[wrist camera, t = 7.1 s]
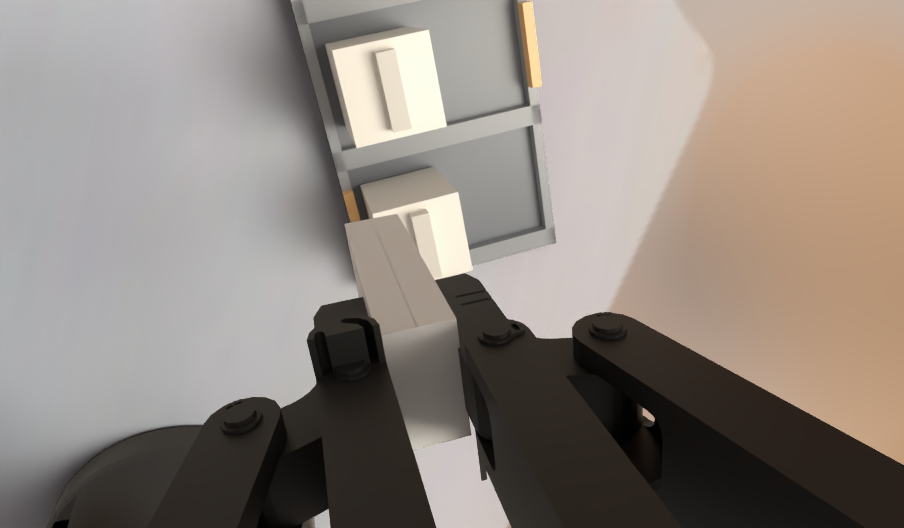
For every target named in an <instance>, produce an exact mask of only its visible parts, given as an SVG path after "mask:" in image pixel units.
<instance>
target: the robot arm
mask: <svg viewBox="0 0 904 528" xmlns="http://www.w3.org/2000/svg"><path fill="white" fill-rule="evenodd" d="M345 229H346V234H347V239H348V245H349V250H350V255H351V260H352V265H353V270H354V275H355V280H356V285H357V290H358V295H359V298H355V299H351V300H346V301H341V302H337V303H332V304H328V305H323V306H321V307H320V309H319V310H318V312H317V313H316V315H315V316H314V327H315V328H314V329H313V330H312V331H311V332H310V333H309V335H308V338H307V344H308V348H309V352H310V356H311V360H312V364H313V368H314V372H315V376H316V382H317V383H316V385H315V387H314V388H313V389H312V390H311V391H310V392H309V393H308V394H306V395H305V396H304V397H302V398H301V399H299V400H297V401H296V402H294V403H292V404H290V405H287V406H285V407H283V408H281V409H280V407H279V405H278V404H277V403H276V402H275V401H274V400H271V399H268V398H266V397H251V398H246V399H240V400H237V401H234V402H233V403H229V404H227V405H225V406H223V407H222V408H221V409H219V410H218V411H216V412H215V413H213V414H212V415H211V416H210V417H209V418H208V420H207V421H206V422H205V423H204V424H203V426H202V427H200V426H189V427H174V428H167V429H161V430H156V431H152V432H148V433H144V434H141V435H138V436H135V437H132V438H129V439H127V440H124V441H122V442H120V443H118V444H116V445H114V446H112V447H110V448H108V449H107V450H105V451H103V452H102V453H100V454H99V455H97V456H96V457H94V458H93V459H92V460H90V461H89V462H88V463H87V464H86V465H84V466H83V467H82V468H81V469H80V470H79V471H78V472H77V473H76V474H75V475H74V477H73V478H72V479H71V480H70V481H69V483H68V484H67V486H66V487H65V489H64V490H63V492H62V494H61V496H60V498H59V500H58V502H57V505H56V507H55V509H54V511H53V513H52V516H51V518H50V520H49V522H48V524H47V527H46V528H315V523H314V516H316V515H318V514H320V513H322V512H324V511H325V510H327V509H329V516H330V526H331V528H436V525H435V522H434V519H433V515H432V512H431V509H430V505H429V502H428V499H427V495H426V492H425V489H424V485H423V482H422V479H421V475H420V472H419V469H418V465H417V462H416V459H415V456H414V452H413V450H416V449H420V448H424V447H427V446H431V445H435V444H439V443H443V442H446V441H450V440H454V439H458V438H461V437H465V436H469V435H471V429H470V421H469V417H470V419H471V421H472V423H473V425H474V428H475V432H476V440H477V448H478V456H479V464H480V472H481V479H482V481H483V480H486V479H487V473H488V475H489V477H490V479H491V482H492V484H493V486H494V488H495V491H496V493H497V495H498V498H499V500H500V502H501V504H502V507H503V509H504V511H505V514H506V516H507V518H508V520H509V523H510V525H511V527H512V528H904V465H902V464H901V463H899V462H897V461H895V460H893V459H891V458H890V457H887V456H886V455H884V454H882V453H880V452H878V451H877V450H875V449H873V448H871V447H869V446H867V445H866V444H864V443H862V442H860V441H858V440H856V439H854V438H853V437H851V436H849V435H847V434H845V433H843V432H842V431H840V430H838V429H836V428H834V427H832V426H831V425H829V424H827V423H825V422H823V421H821V420H820V419H818V418H816V417H814V416H812V415H810V414H809V413H807V412H805V411H803V410H801V409H799V408H797V407H796V406H794V405H792V404H790V403H788V402H786V401H784V400H782V399H781V398H779V397H777V396H775V395H774V394H772V393H770V392H768V391H766V390H764V389H762V388H761V387H759V386H757V385H755V384H753V383H751V382H750V381H748V380H746V379H744V378H742V377H740V376H739V375H737V374H735V373H733V372H731V371H729V370H727V369H725V368H723V367H722V366H720V365H718V364H716V363H714V362H713V361H711V360H709V359H707V358H705V357H703V356H701V355H700V354H698V353H696V352H694V351H692V350H691V349H689V348H687V347H685V346H683V345H681V344H680V343H678V342H676V341H674V340H672V339H670V338H669V337H667V336H665V335H663V334H661V333H659V332H657V331H656V330H654V329H652V328H650V327H648V326H646V325H644V324H643V323H641V322H639V321H637V320H635V319H633V318H631V317H628V316H625V315H623V314H615V313H611V312H604V313H602V312H601V313H595V314H592V315H588V316H585V317H583V318H581V319H580V320H578V321H576V323H575V324H574V326H573V327H572V337H573V338H559V339H541V338H536V337H535V335H534V334H533V333H532V332H531V330H530V329H529V328H528V327H527V326H525V325H524V324H523V323H521V322H517V321H514V320H509V319H507V318H506V317H505V315H504V314H503V313H502V311H501V310H500V308H499V307H498V306H497V304H496V303H495V302H494V300H493V299H492V298H491V296H490V295H489V293H488V292H487V291H486V289H485V288H484V286H483V285H482V284H481V282H480V281H479V280H478V279H476V278H474V277H471V276H469V275H467V274H465V273H464V274H460V275H455V276H450V277H446V278H441V279H436V280H434V278H433V276H432V274H431V273H430V271H429V269H428V267H427V266H426V264H425V262H424V260H423V258H422V257H421V255H420V253H419V251H418V250H417V248H416V246H415V244H414V242H413V241H412V239H411V237H410V235H409V234H408V232H407V230H406V228H405V226H404V225H403V223H402V221H401V219H400V218H399V216H398V214H393V215H388V216H382V217H377V218H372V219H367V220H362V221H356V222H351V223H346V224H345ZM642 408H645V409H646V410H647V411H648V412H650V413H651V414H652V415H653V416H654V418H655V421H654V422H652V421H650V420H649V419H647V418H646V417H645V416H643V409H642ZM486 471H487V473H486Z"/></svg>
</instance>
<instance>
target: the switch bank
mask: <svg viewBox="0 0 904 528" xmlns="http://www.w3.org/2000/svg"><path fill="white" fill-rule="evenodd" d="M290 2H291V6H292V9H293V13H294V17H295V20H296V24H297V28H298V31H299V35H300V39H301V42H302V46H303V50H304V54H305V57H306V61H307V65H308V68H309V72H310V76H311V79H312V83H313V87H314V90H315V94H316V98H317V101H318V105H319V109H320V113H321V116H322V120H323V124H324V127H325V131H326V135H327V138H328V142H329V146H330V149H331V153H332V157H333V161H334V164H335V168H336V172H337V175H338V179H339V183H340V186H341V190H342V194H343V197H344V201H345V205H346V209H347V212H348V216H349V220H350V223H351V222H356V221H362V220H367V219H368V215H367V211H366V207H365V203H364V199H363V195H362V191H361V187H360V185H362V184H366V183H370V182H374V181H378V180H382V179H386V178H390V177H394V176H398V175H402V174H406V173H410V172H414V171H418V170H422V169H426V168H430V167H435V168H436V169H437V170H438V171H439V172H440V173H441V174H442V175H443V176H444V177H445V179H446V180H447V181H448V182H449V183H450V184H451V185H452V186H453V187H454V188H455V189H456V190H457V191H458V194H459V199H460V205H461V210H462V215H463V221H464V226H465V231H466V237H467V242H468V247H469V253H470V258H471V263H472V266H474V265H478V264H481V263H485V262H489V261H492V260H496V259H499V258H503V257H507V256H510V255H514V254H517V253H521V252H525V251H528V250H532V249H535V248H539V247H543V246H546V245H550V244H553V243H556V237H555V229H554V220H553V212H552V204H551V196H550V187H549V179H548V171H547V162H546V154H545V146H544V137H543V129H542V121H541V113H540V104H539V96H538V88H537V87H540V86H542V80H541V71H540V63H539V54H538V46H537V37H536V29H535V20H534V12H533V3H532V1H527V0H290ZM406 26H408V27H415V28H421V29H428V30H429V33H430V39H431V44H432V50H433V55H434V60H435V66H436V71H437V76H438V82H439V87H440V92H441V98H442V103H443V109H444V114H445V119H446V125H447V127H443V128H439V129H435V130H431V131H427V132H422V133H418V134H414V135H410V136H406V137H402V138H397V139H393V140H389V141H385V142H381V143H377V144H373V145H368V146H364V147H360V148H356V146H355V144H354V142H353V140H352V138H351V136H350V134H349V133H348V131H347V129H346V126H345V122H344V118H343V114H342V110H341V106H340V102H339V98H338V94H337V90H336V87H335V83H334V79H333V75H332V71H331V67H330V63H329V59H328V55H327V51H326V48H325V44H326V43H331V42H336V41H340V40H345V39H350V38H354V37H359V36H364V35H368V34H373V33H378V32H383V31H387V30H392V29H397V28H401V27H406Z"/></svg>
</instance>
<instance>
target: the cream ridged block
mask: <svg viewBox="0 0 904 528" xmlns="http://www.w3.org/2000/svg"><path fill="white" fill-rule="evenodd" d="M325 48H326V51H327V55H328V59H329V63H330V67H331V71H332V75H333V79H334V83H335V87H336V90H337V94H338V98H339V102H340V106H341V110H342V114H343V118H344V122H345V126H346V129H347V131H348V133H349V134H350V136H351V138H352V140H353V142H354V144H355V146H356V148H360V147H364V146H368V145H373V144H377V143H381V142H385V141H389V140H393V139H397V138H402V137H406V136H410V135H414V134H418V133H422V132H427V131H431V130H435V129H439V128H443V127H447V125H446V119H445V114H444V109H443V103H442V98H441V92H440V87H439V82H438V76H437V71H436V66H435V60H434V55H433V50H432V44H431V39H430V33H429V30H428V29H421V28H415V27H408V26H406V27H401V28H397V29H392V30H387V31H383V32H378V33H373V34H368V35H364V36H359V37H354V38H350V39H345V40H340V41H336V42H331V43H326V44H325Z"/></svg>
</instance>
